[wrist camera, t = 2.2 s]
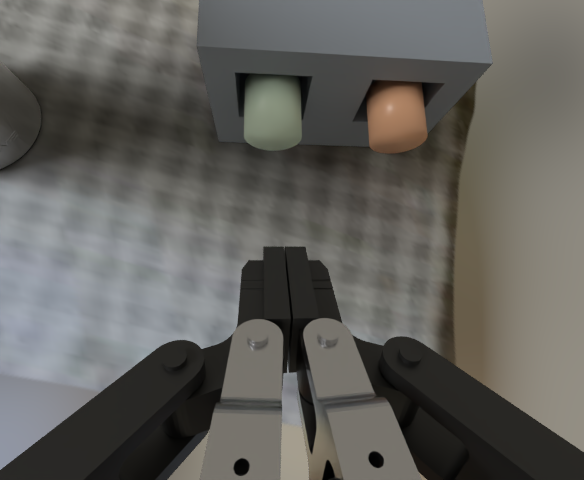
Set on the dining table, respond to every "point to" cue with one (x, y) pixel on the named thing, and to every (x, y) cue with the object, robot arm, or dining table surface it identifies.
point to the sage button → (272, 111)
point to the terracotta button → (395, 116)
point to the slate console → (339, 57)
